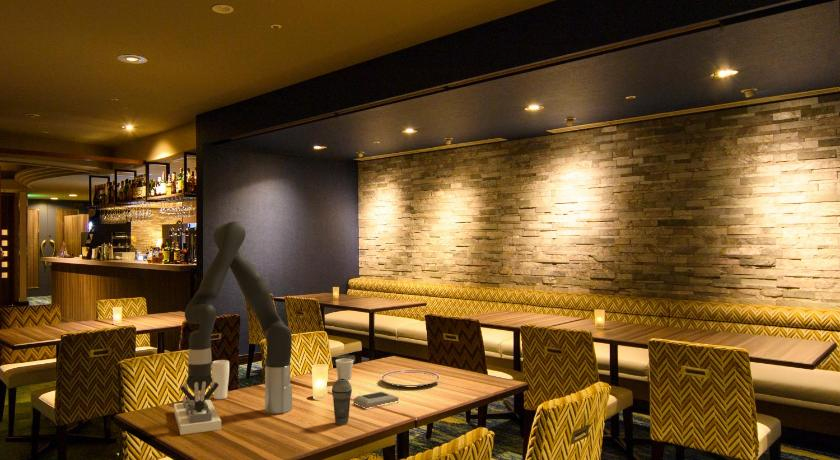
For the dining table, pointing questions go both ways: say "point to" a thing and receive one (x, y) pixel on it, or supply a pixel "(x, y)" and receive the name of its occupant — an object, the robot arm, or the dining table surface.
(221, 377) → the white tumbler
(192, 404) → the slate button
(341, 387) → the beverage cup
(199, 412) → the sage button
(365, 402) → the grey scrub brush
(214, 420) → the button console
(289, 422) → the dining table surface
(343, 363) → the dixie cup
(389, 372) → the dinner plate
